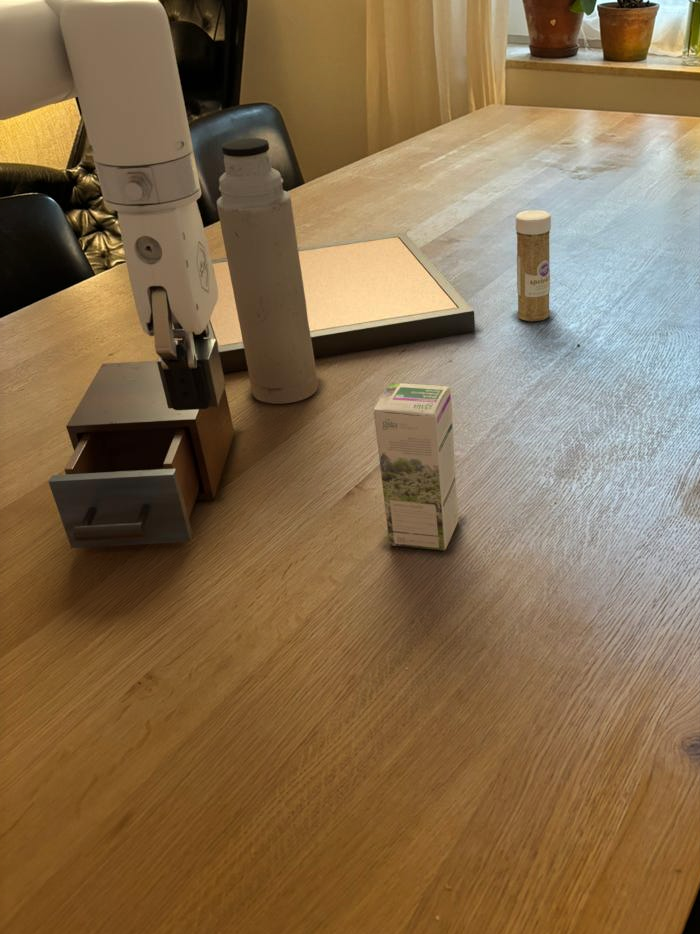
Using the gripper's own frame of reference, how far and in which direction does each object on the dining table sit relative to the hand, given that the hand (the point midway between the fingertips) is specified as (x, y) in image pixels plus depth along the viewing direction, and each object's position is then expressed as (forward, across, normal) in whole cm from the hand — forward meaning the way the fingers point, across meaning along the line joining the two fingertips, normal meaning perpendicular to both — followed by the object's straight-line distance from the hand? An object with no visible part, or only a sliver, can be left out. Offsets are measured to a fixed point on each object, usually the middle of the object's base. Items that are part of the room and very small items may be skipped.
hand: (196, 392), depth 92 cm
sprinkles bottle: (+15, +50, -35) cm, 63 cm away
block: (0, 0, 0) cm, 0 cm away
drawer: (+14, +1, +9) cm, 16 cm away
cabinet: (+15, +13, +8) cm, 22 cm away
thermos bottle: (+15, +31, -3) cm, 35 cm away
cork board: (+15, +58, -5) cm, 60 cm away
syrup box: (+15, -3, -20) cm, 25 cm away
